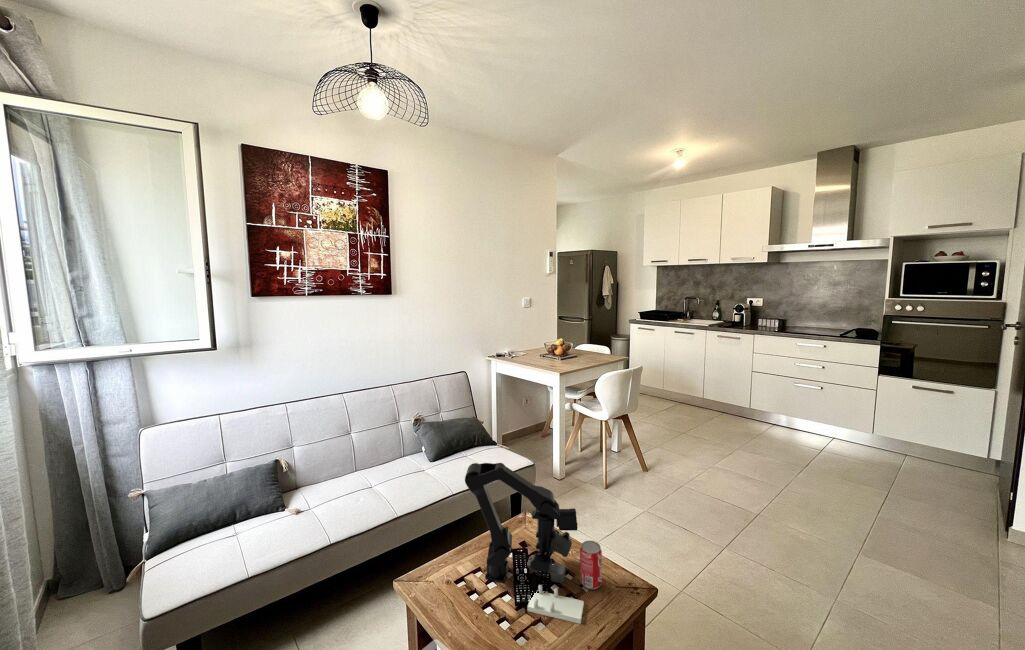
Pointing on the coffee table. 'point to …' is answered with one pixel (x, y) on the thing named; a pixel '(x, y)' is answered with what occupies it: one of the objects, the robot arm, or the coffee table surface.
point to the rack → (556, 606)
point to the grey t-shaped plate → (553, 572)
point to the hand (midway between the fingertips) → (545, 571)
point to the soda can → (591, 565)
